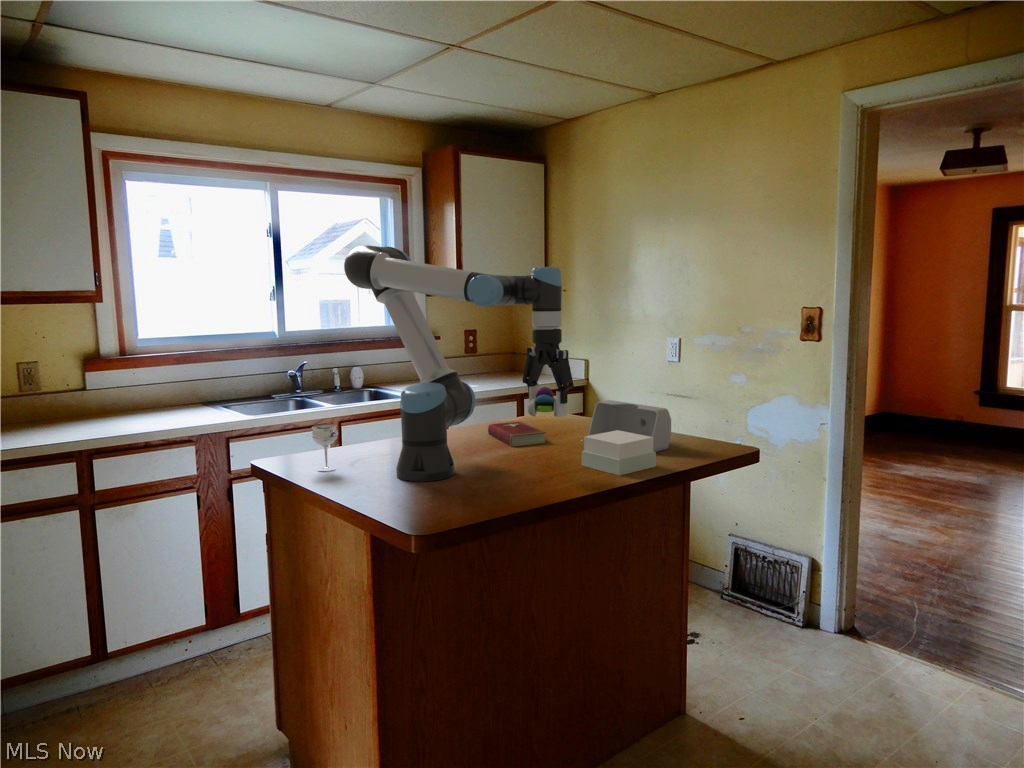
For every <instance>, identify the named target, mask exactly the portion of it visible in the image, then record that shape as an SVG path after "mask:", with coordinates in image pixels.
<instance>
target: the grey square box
mask: <svg viewBox="0 0 1024 768" xmlns="http://www.w3.org/2000/svg"><path fill="white" fill-rule="evenodd" d="M656 455H657V452H654V451H653V437H649V436H644V435H639V434H634V433H629V432H624V431H619V430H616V431H611V432H606V433H600V434H595V435H590V436H588V435H586V436H584V437H583V450H581V466H582V467H586V468H590V469H594V470H597V471H602V472H603V473H609V474H612V475H616V476H624V475H627V474H631V473H635V472H639V471H642V470H648V469H651V468H652V469H653V468H655V467H656V466H657V462H656V461H657V456H656Z"/></svg>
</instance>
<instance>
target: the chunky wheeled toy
mask: <svg viewBox="0 0 1024 768" xmlns="http://www.w3.org/2000/svg"><path fill="white" fill-rule="evenodd" d="M537 412H539V413H549V412H550V413H551V412H553V416H554V417H556V397H554V392H553V390H552V389H551V388H549V387H546V386H544V387H541V388H540V387H539V390H538V391H537V393H536V398H535V399H532V400H531V401H530V402H529V401H528V405H527V413H528V414H529V415H530V416H532V417H536V414H537Z"/></svg>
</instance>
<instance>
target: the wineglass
mask: <svg viewBox="0 0 1024 768" xmlns="http://www.w3.org/2000/svg"><path fill="white" fill-rule="evenodd" d="M337 427H338V424H333V423H330V424H329V423H327V424H326V423H325V424H324V423H323V424H318V425H317V424H315V425H313V426H311V429H312V433H311V437H312V439H313V441H314V442H315V443H316V444H317V445H320V446H322V447H323V450H324V458H325V459H324V460H325V466H324V467H323V468H329V467H330V466H328V448H329V445H331V444H334V442H335V441H336V440H337V439H338V435H339V432H338V429H337Z"/></svg>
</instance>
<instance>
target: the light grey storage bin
mask: <svg viewBox="0 0 1024 768" xmlns="http://www.w3.org/2000/svg"><path fill="white" fill-rule="evenodd" d="M591 417H592V418H591V421H590V422H591V423H590V426H589V429H588V433H587V436H590V435H595V434H600V433H606V432H611V431H616V430H619V431H624V432H629V433H634V434H639V435H644V436H649V437H653V451H654V452H656V453H658V452H662V451H666V450H668V448H669V446H670V442H671V437H672V417H671V415H670V413H669V409H667V408H665V407H659V406H653V405H647V404H646V405H645V404H638V403H633V402H626V401H617V400H611V399H608V400H603V401H598V402H596V403H595V407H594V411H593V412H592V416H591Z"/></svg>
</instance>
